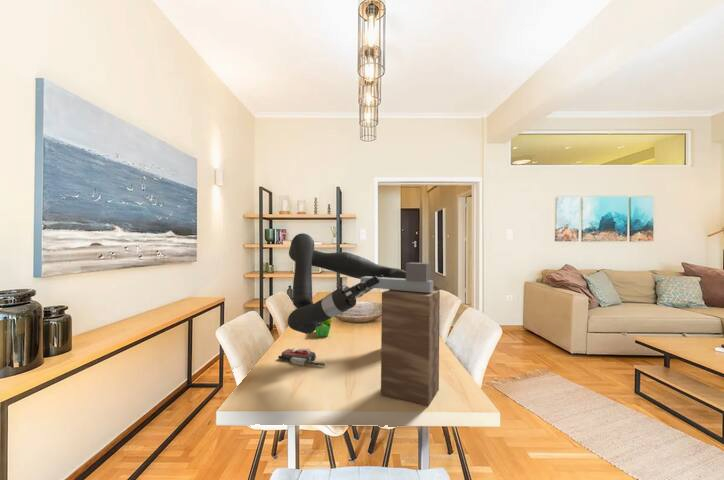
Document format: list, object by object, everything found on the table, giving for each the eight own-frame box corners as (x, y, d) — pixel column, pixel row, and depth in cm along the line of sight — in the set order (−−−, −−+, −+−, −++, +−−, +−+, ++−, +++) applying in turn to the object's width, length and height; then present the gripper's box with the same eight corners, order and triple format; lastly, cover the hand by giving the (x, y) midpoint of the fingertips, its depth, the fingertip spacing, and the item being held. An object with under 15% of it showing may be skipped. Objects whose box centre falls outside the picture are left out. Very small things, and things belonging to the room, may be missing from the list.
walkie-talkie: (274, 362, 127) (323, 369, 120) (274, 350, 127) (323, 357, 120) (287, 355, 135) (333, 361, 129) (287, 344, 135) (333, 349, 129)
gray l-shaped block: (366, 285, 111) (366, 260, 111) (433, 290, 101) (434, 263, 101) (359, 287, 106) (359, 261, 106) (429, 292, 97) (429, 264, 97)
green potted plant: (314, 331, 170) (315, 308, 170) (332, 331, 171) (332, 308, 171) (314, 337, 158) (314, 313, 158) (333, 337, 159) (333, 313, 159)
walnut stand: (395, 381, 110) (396, 287, 110) (438, 389, 104) (439, 290, 104) (380, 396, 99) (381, 292, 99) (428, 406, 93) (429, 296, 93)
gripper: (322, 294, 107) (365, 268, 101) (344, 288, 120) (383, 265, 113) (332, 316, 105) (376, 292, 99) (353, 308, 118) (394, 286, 112)
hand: (380, 278), depth 106 cm, fingers closed on gray l-shaped block, 4 cm apart
